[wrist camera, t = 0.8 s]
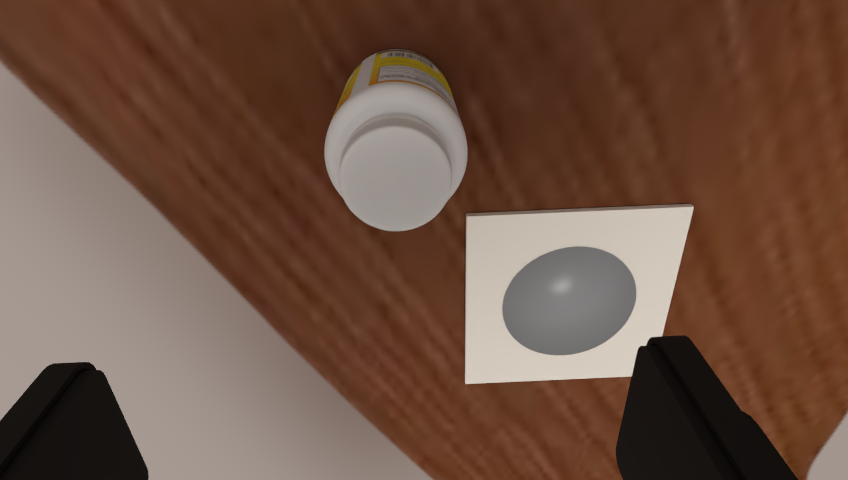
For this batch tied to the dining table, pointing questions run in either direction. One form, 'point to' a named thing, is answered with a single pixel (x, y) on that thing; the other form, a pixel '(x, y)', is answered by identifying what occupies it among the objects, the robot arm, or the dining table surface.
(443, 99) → the supplement bottle
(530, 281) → the card
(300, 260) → the dining table surface
